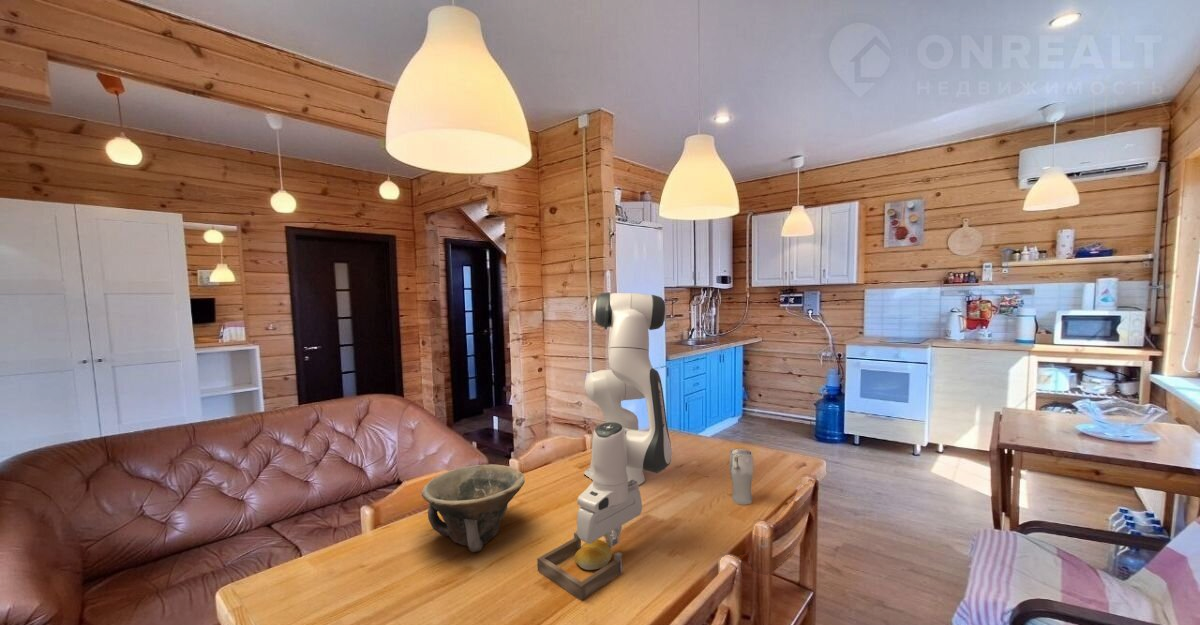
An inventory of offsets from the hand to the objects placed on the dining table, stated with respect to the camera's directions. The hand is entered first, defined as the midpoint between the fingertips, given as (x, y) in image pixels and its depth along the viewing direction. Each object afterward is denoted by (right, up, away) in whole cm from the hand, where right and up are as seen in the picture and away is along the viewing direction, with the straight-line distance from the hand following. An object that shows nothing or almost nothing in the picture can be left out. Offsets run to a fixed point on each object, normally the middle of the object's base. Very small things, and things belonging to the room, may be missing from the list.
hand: (612, 544), depth 110 cm
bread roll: (-5, -2, -3) cm, 6 cm away
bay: (-8, -2, -8) cm, 11 cm away
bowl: (-37, -3, +11) cm, 39 cm away
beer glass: (+41, 0, +26) cm, 48 cm away
